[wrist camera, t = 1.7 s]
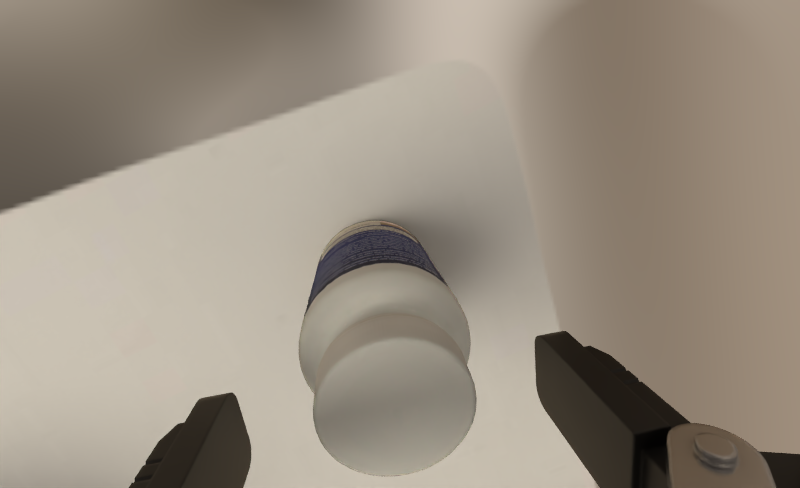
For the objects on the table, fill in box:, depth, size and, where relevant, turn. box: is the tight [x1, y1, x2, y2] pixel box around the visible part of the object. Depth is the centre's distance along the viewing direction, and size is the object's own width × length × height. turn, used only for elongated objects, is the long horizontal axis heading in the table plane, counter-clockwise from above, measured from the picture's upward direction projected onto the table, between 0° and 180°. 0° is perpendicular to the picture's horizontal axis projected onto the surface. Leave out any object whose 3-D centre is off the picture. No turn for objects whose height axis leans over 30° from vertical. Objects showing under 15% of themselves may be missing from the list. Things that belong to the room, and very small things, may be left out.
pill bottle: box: [299, 221, 476, 476], centre depth 14 cm, size 5×5×10 cm
